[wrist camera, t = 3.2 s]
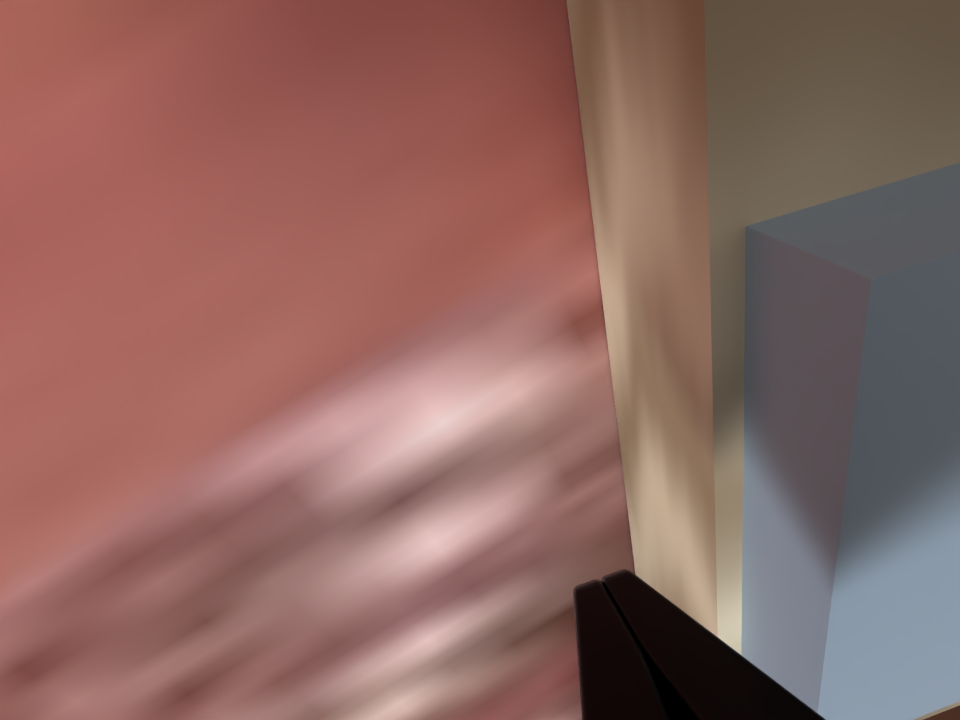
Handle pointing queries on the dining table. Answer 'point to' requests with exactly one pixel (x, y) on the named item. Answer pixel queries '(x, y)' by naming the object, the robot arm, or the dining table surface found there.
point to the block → (855, 450)
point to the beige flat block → (729, 221)
